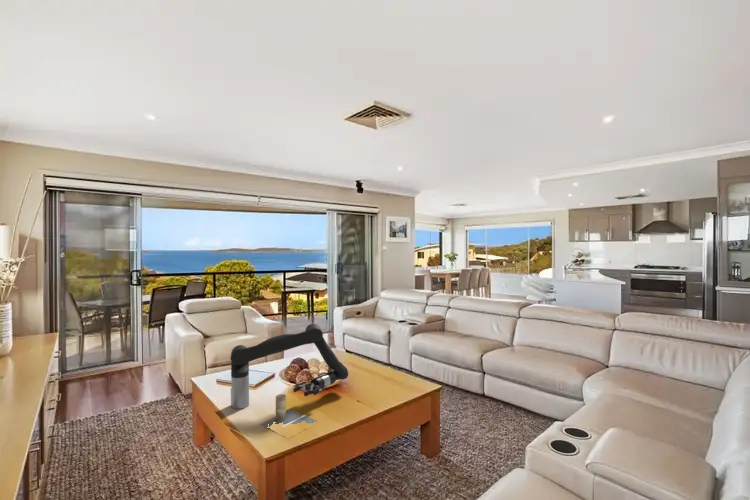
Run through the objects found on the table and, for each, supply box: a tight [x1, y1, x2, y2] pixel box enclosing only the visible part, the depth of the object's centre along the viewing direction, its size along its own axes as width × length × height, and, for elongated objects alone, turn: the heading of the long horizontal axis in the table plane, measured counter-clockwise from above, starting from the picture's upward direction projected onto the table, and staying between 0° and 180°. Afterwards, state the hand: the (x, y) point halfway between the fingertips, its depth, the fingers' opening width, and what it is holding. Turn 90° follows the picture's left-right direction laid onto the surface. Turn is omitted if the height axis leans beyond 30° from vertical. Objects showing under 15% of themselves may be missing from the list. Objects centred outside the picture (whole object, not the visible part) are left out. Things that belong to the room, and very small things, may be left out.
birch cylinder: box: [275, 393, 287, 422], centre depth 192 cm, size 5×5×12 cm
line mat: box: [259, 409, 318, 429], centre depth 188 cm, size 22×20×1 cm
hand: (299, 392), depth 202 cm, fingers open, 8 cm apart
